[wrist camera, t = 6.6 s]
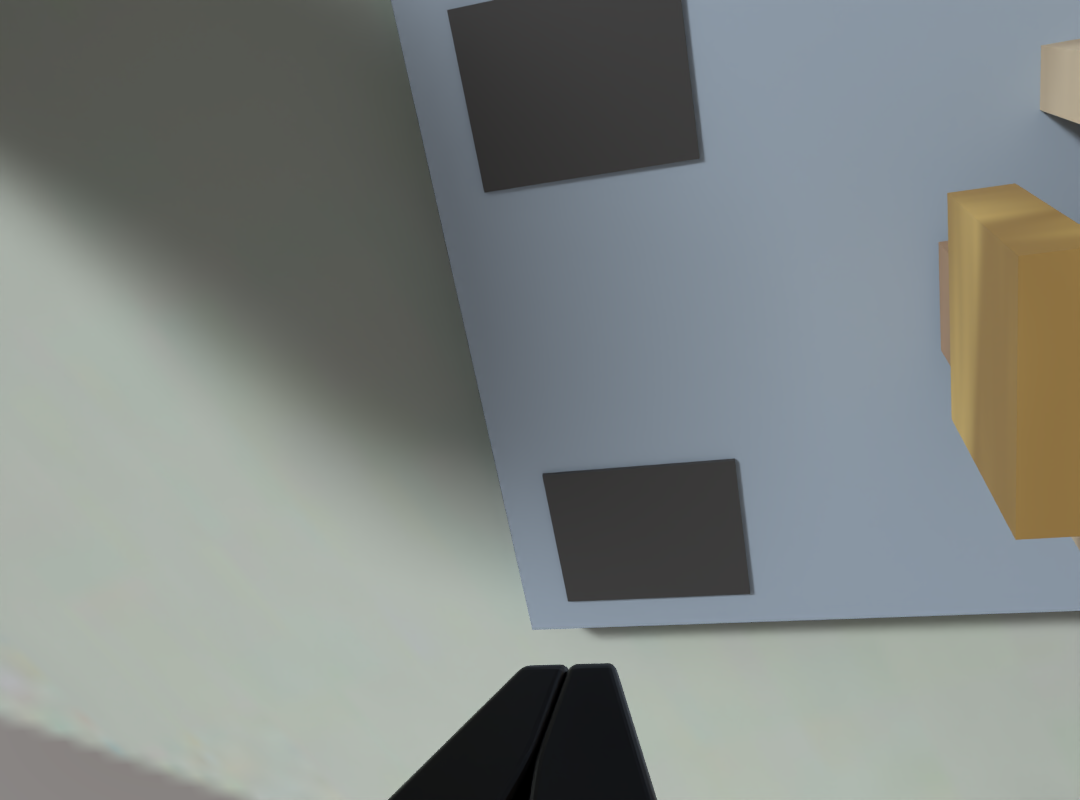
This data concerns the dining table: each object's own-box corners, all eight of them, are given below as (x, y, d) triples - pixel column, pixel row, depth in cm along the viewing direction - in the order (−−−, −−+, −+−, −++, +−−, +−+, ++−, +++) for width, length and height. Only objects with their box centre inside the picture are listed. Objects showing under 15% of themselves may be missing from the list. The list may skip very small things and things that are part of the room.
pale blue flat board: (1801, -340, 12) (1916, -376, 11) (1562, 555, 17) (1622, 595, 16) (406, -26, 17) (382, -28, 16) (542, 598, 22) (531, 632, 21)
